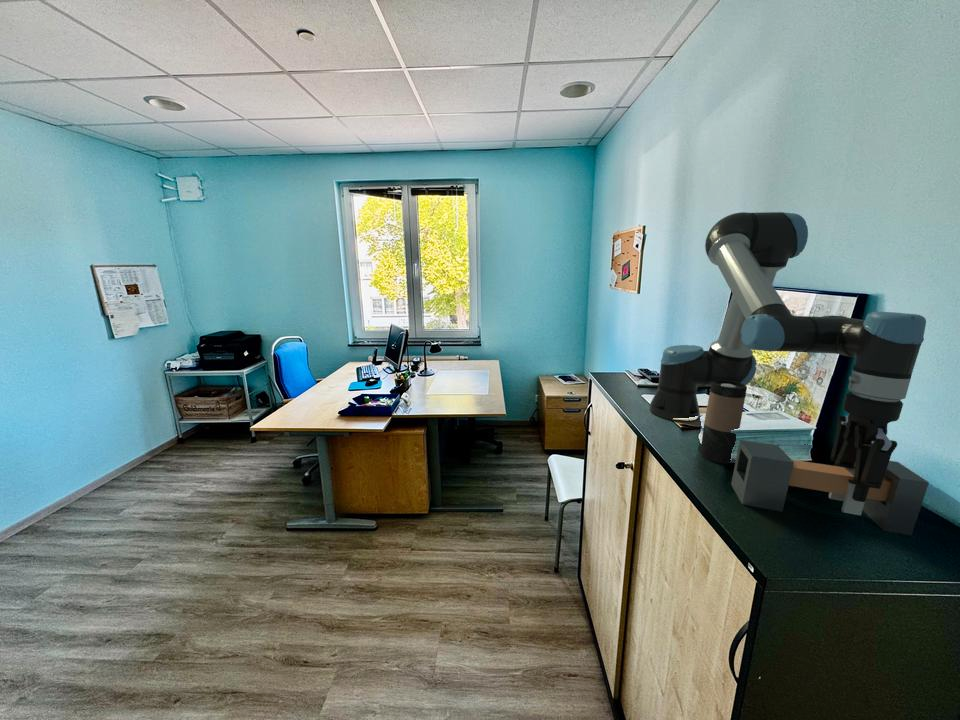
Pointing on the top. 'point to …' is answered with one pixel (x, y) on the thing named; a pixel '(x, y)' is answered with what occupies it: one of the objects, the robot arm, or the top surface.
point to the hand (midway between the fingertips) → (844, 505)
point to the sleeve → (761, 475)
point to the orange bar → (831, 479)
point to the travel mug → (722, 420)
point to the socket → (898, 501)
